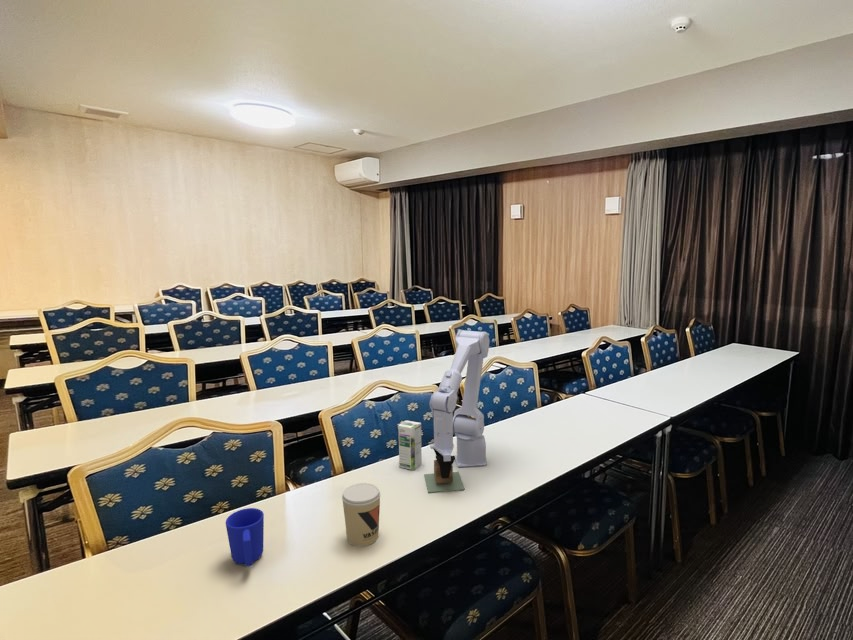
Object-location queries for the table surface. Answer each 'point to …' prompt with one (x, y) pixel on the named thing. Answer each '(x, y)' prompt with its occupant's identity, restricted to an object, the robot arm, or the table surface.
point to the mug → (246, 535)
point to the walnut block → (438, 474)
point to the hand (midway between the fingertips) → (443, 473)
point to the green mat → (444, 484)
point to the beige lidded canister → (361, 513)
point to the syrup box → (410, 445)
